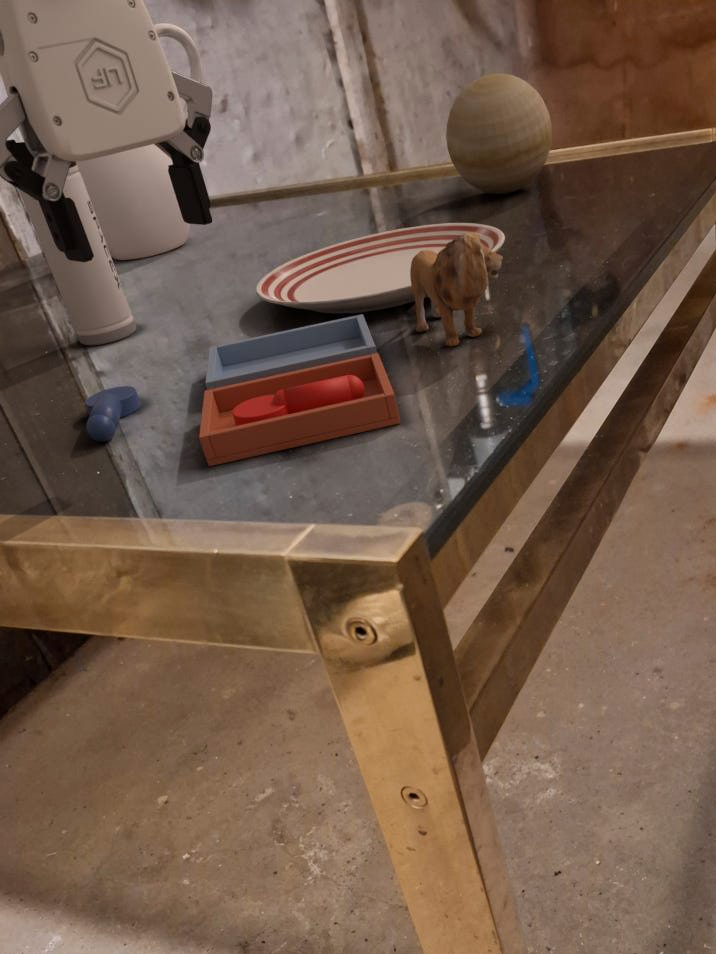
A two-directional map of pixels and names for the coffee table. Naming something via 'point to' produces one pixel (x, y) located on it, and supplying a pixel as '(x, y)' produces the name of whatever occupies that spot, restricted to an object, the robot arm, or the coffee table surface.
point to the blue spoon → (110, 410)
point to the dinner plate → (364, 269)
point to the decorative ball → (499, 133)
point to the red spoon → (299, 399)
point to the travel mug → (81, 265)
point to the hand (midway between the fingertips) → (142, 240)
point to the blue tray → (288, 351)
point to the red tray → (298, 428)
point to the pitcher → (139, 187)
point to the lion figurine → (453, 282)
